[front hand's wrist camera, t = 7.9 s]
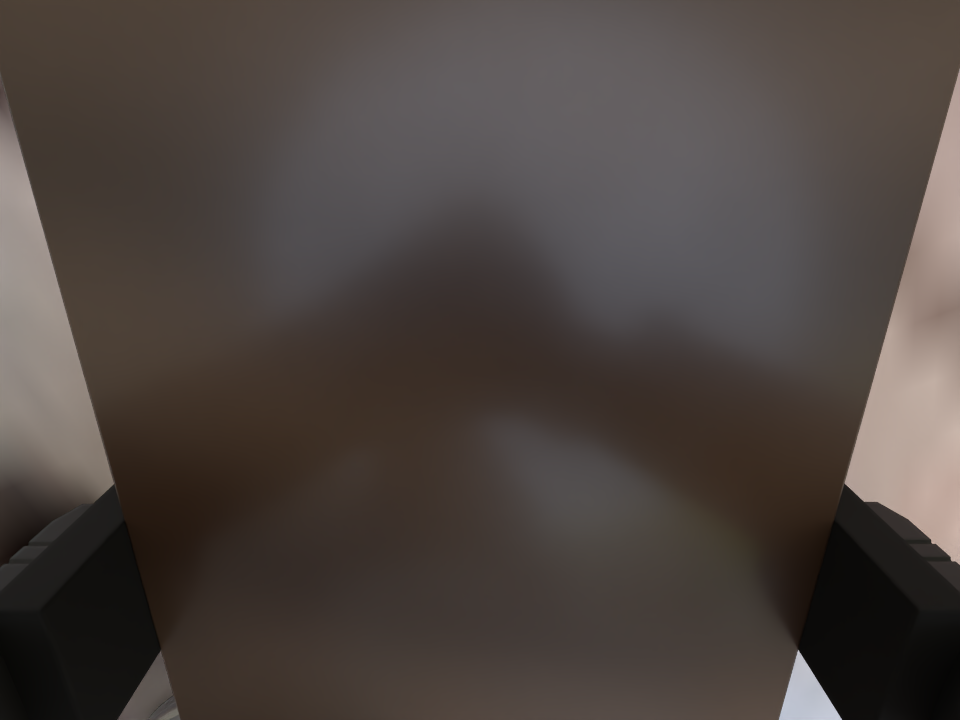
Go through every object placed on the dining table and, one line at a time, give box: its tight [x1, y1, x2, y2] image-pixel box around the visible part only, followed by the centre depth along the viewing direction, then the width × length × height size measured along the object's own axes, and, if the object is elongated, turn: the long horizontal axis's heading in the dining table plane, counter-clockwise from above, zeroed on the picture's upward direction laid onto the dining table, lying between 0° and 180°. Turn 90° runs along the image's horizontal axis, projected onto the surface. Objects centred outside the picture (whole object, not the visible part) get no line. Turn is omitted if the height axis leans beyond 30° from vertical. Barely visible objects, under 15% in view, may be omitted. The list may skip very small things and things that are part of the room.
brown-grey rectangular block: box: [0, 0, 960, 720], centre depth 12 cm, size 19×11×11 cm, turn 0°
